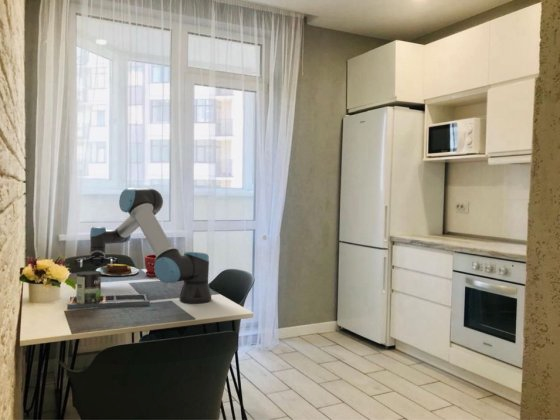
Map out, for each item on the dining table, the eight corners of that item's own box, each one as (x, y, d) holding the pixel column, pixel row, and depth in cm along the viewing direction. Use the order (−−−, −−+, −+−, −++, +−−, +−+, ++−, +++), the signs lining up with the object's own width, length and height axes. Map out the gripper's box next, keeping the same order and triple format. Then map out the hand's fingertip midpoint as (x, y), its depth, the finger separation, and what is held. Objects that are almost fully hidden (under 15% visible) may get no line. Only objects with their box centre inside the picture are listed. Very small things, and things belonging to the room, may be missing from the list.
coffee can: (104, 301, 218) (104, 270, 217) (95, 306, 207) (95, 274, 207) (82, 300, 218) (82, 270, 217) (71, 306, 208) (72, 274, 207)
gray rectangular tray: (147, 297, 228) (147, 293, 228) (149, 305, 214) (149, 301, 214) (70, 301, 217) (70, 296, 217) (67, 309, 203) (67, 304, 203)
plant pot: (139, 275, 285) (140, 256, 285) (155, 272, 297) (155, 253, 296) (156, 278, 279) (156, 258, 279) (171, 275, 291) (171, 255, 290)
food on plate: (139, 270, 306) (139, 260, 306) (139, 277, 282) (139, 266, 282) (96, 270, 298) (97, 260, 298) (93, 278, 275) (94, 266, 274)
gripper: (122, 264, 249) (123, 270, 229) (71, 266, 241) (67, 272, 221) (122, 250, 249) (124, 255, 229) (71, 251, 241) (67, 256, 221)
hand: (96, 264), depth 225 cm, fingers open, 13 cm apart
